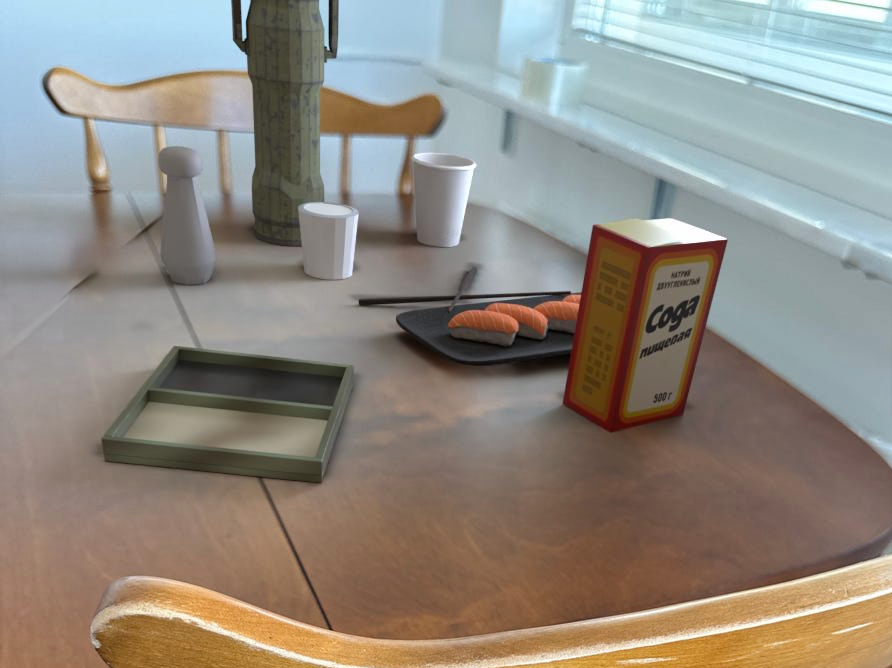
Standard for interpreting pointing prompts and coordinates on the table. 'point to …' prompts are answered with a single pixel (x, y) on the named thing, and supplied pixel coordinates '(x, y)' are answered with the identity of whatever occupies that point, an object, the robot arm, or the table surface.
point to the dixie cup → (441, 196)
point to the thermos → (285, 107)
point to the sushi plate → (492, 325)
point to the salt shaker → (185, 219)
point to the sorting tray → (234, 415)
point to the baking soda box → (641, 320)
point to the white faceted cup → (328, 239)
